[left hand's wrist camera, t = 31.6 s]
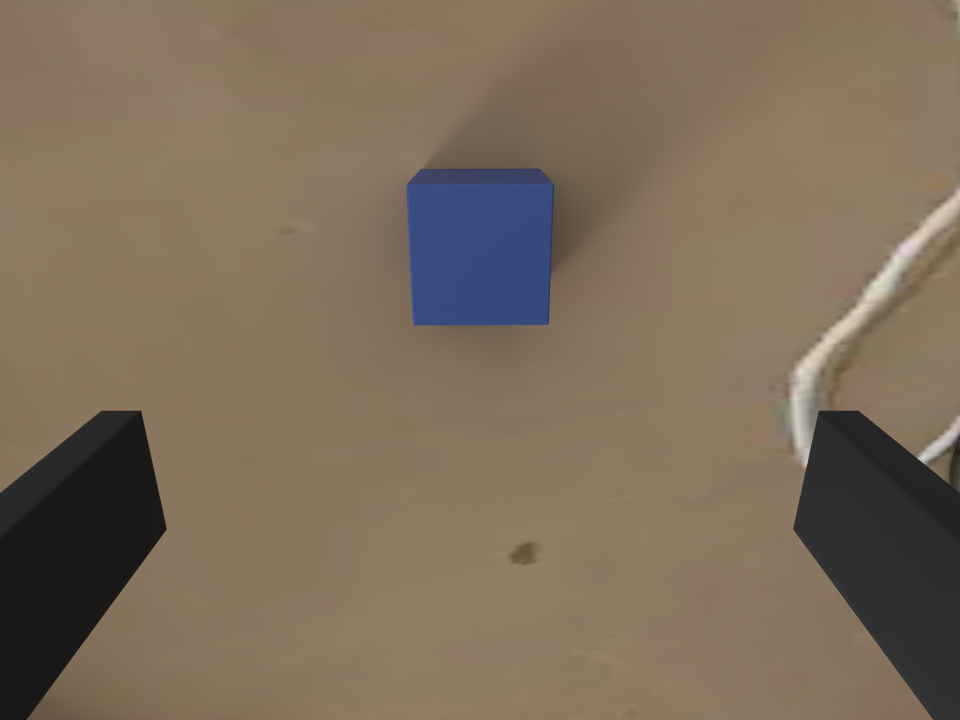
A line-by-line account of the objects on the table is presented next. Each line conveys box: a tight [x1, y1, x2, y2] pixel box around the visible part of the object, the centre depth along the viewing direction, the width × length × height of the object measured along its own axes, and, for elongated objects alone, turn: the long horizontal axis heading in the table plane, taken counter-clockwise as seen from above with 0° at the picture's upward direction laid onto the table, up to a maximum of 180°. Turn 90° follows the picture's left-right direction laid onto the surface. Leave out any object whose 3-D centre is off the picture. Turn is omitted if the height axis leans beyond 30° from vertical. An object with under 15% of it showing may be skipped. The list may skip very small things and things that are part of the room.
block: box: [407, 169, 554, 325], centre depth 34 cm, size 7×7×7 cm
